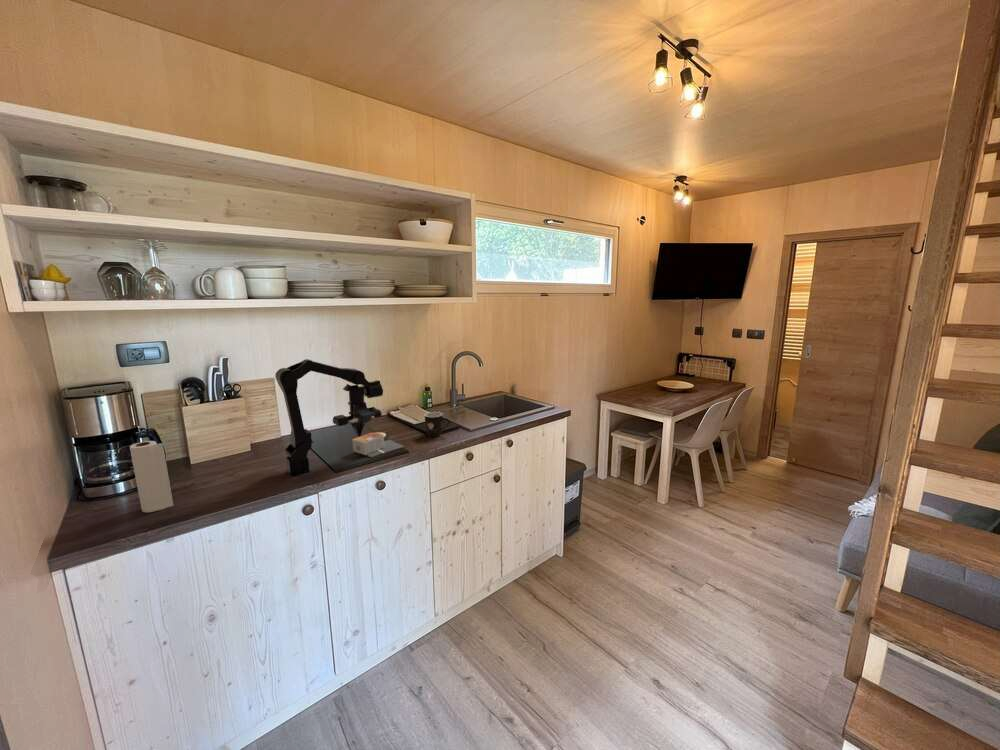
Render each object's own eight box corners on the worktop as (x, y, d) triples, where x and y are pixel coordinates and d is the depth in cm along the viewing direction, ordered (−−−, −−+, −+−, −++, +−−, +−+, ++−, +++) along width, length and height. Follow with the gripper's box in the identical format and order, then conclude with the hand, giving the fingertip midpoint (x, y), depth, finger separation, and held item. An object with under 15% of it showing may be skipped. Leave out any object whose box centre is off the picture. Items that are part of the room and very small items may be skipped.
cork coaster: (371, 441, 183) (371, 440, 183) (362, 436, 189) (362, 435, 189) (389, 436, 189) (389, 435, 189) (379, 431, 195) (379, 430, 195)
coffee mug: (421, 434, 191) (420, 414, 189) (435, 430, 198) (434, 410, 196) (437, 440, 184) (436, 419, 182) (451, 435, 190) (450, 415, 188)
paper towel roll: (137, 510, 124) (125, 445, 120) (160, 501, 129) (149, 439, 125) (151, 515, 121) (138, 449, 117) (173, 506, 126) (162, 442, 122)
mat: (370, 458, 164) (370, 456, 164) (356, 450, 172) (356, 448, 172) (404, 447, 175) (404, 446, 175) (389, 440, 183) (389, 439, 183)
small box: (351, 439, 168) (371, 431, 177) (352, 451, 169) (372, 443, 178) (364, 442, 164) (384, 434, 172) (365, 455, 165) (385, 447, 174)
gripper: (343, 408, 150) (346, 447, 153) (387, 399, 163) (389, 435, 166) (330, 402, 158) (333, 440, 161) (374, 394, 171) (375, 429, 174)
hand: (359, 436), depth 165 cm, fingers closed
